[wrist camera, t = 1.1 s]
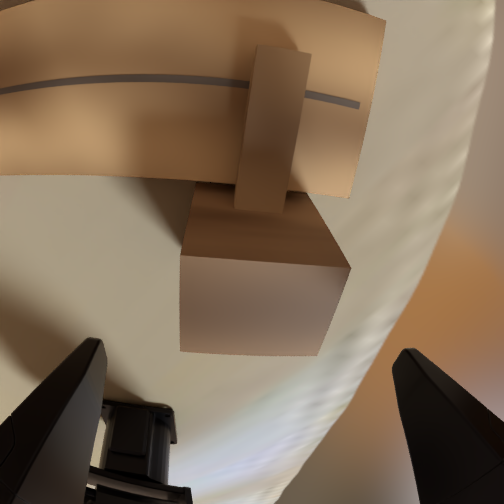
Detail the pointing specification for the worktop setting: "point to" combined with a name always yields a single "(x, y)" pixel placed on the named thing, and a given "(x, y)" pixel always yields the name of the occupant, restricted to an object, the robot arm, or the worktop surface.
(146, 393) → the worktop surface
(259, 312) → the brown block with bar
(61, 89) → the plank
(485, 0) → the worktop surface
